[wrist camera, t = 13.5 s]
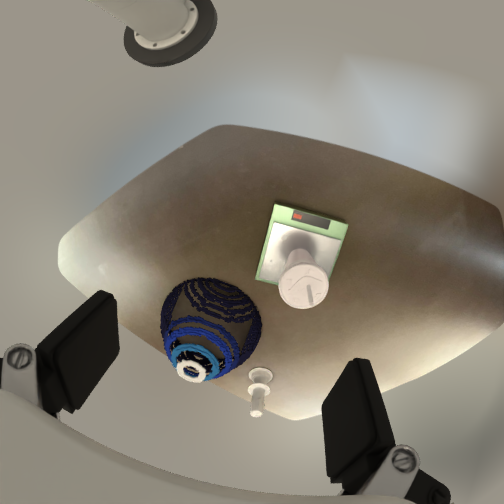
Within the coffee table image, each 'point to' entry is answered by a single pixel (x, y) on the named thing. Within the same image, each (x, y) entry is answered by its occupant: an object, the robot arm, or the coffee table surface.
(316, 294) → the smoothie
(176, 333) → the decorative bowl
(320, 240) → the scale platform
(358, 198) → the coffee table surface
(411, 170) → the coffee table surface
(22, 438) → the robot arm
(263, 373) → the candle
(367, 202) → the coffee table surface
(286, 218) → the scale
